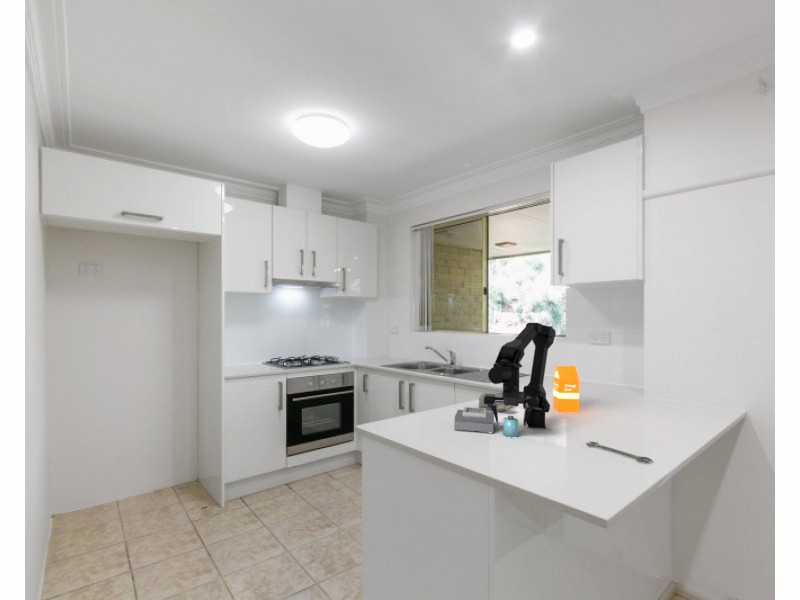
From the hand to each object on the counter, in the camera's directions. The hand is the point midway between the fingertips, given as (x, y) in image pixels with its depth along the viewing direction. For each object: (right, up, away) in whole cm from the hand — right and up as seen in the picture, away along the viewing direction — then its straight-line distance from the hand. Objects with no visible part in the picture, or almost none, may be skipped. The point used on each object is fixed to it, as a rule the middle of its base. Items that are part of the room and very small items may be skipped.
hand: (510, 424), depth 147 cm
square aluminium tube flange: (-11, -4, +10) cm, 15 cm away
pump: (0, -4, 0) cm, 4 cm away
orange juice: (+35, -6, +39) cm, 53 cm away
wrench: (+29, -5, -17) cm, 34 cm away
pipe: (+3, -5, +38) cm, 38 cm away
